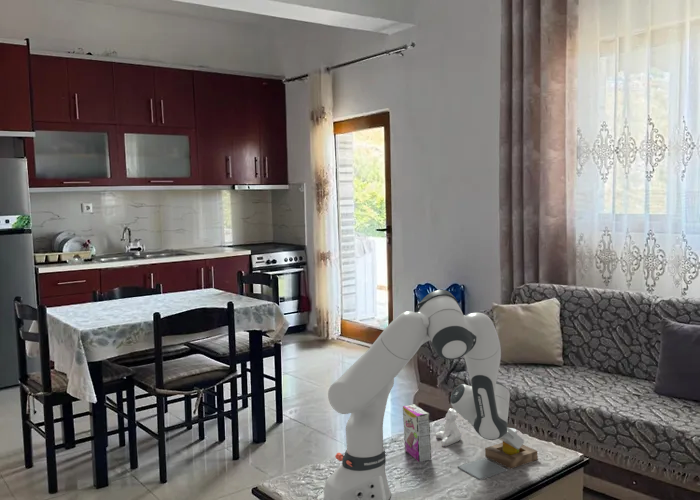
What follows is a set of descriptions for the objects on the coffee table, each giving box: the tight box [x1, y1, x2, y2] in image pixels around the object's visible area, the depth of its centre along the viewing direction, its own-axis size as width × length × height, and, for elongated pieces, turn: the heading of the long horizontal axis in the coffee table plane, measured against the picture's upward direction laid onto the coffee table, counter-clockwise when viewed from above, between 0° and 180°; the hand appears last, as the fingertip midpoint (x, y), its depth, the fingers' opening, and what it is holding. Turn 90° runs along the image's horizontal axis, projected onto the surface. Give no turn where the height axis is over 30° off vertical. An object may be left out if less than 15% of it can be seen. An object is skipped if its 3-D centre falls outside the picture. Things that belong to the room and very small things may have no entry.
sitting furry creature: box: [435, 407, 463, 447], centre depth 239 cm, size 10×9×12 cm
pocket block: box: [484, 442, 539, 470], centre depth 222 cm, size 12×12×3 cm
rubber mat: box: [457, 457, 508, 481], centre depth 215 cm, size 11×11×1 cm
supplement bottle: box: [502, 427, 519, 455], centre depth 222 cm, size 5×5×10 cm
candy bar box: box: [402, 403, 432, 463], centre depth 227 cm, size 11×5×16 cm, turn 22°
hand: (512, 443), depth 222 cm, fingers closed on supplement bottle, 5 cm apart
